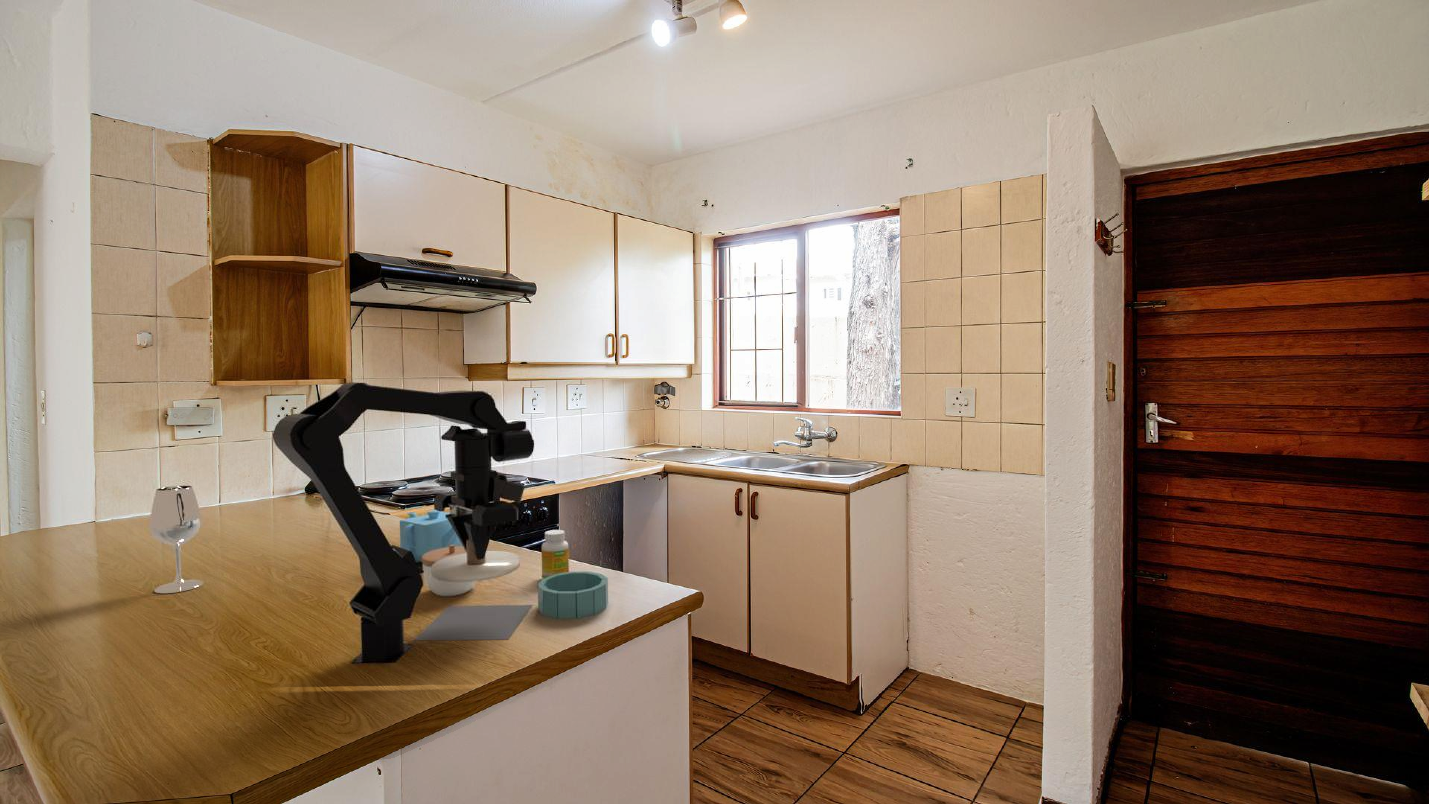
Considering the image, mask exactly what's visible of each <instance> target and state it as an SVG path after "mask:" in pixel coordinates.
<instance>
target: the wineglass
mask: <svg viewBox="0 0 1429 804" xmlns="http://www.w3.org/2000/svg"><path fill="white" fill-rule="evenodd" d="M201 525H202V518H201V510H200V507H199V503H198V500H197V497H196V494H195V490H194V488H193V486H192V485H173V486H172V485H171V486H165V487H160V488H156V490H155V493H154V497H153V501H152V507H151V513H150V522H149V527H150V532H151V534H152V536H153V538H155V539H156V540H157V541H158V542H160V543H162V544H165V545H167V546H172V547H173V551H174V555H175V573H176V574H175V579H174V580H173V581H172V582H169V583H165V584H161V585H160V586H157V587H156V588H154V591H153V592H155V593H157V594H167V595H168V594H176V593H177V594H178V593H183V592H186V591H190V590H194V589H196V588H198V587H201V586H203V584H204V581H203V580H200V579H186V580H185V579H184V578H183V577H182V570H181V548H182V546H183V544H186V543H187V542H189V541H190V540H192V539H193V538H194V537H195V536H196V535H197V533H198V532H199V531H200V529H201Z"/></svg>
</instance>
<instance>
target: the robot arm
mask: <svg viewBox="0 0 1429 804" xmlns="http://www.w3.org/2000/svg"><path fill="white" fill-rule="evenodd" d="M367 410H370V411H383V412H393V413H406V414H418V415H427V416H428V415H429V416H431V417H435V418H438V419H440V420H444V421H447V422H451V423H454V424H458V425H453V424H452V425H450V427H449V428H448V430H447V431H445V432H444V433H443V434H442V435H441V436H440V439H441V440H443V441H449V442H454V470H455V471H450V479H454V480H455V490H451V491H446V492H445V491H444V492H439V493H438V494H437V495H436V496H435V497H434V499H433V510H437V511H440V512H445V510H446V509H447V508H449V513H450V514H447V515H445V517H446V518H447V519H448V521H449V522H450V524H451V526H452V527H453V529H454V531H455V532H456V534H457V536H458V538H459V540H460V542H461V543H462V545H463V547H464V549H465V551H466V540H467V539H470V542H471V545H472V547H473V550H474V553H475V555H476V558H477V559H478V560H481V559H484V557H485V554H486V551H488V547H489V543H490V540H491V538H492V537H491V536H492V534H493V532H494V529H495V528H496V527H497V526H498V525H501V524H506V523H511V522H515V521H518V520H519V507H517V506H516V505H515V504H514V503H517V504H521V502H522V498H523V494H524V491H525V489H526V485H524V484H519V483H515V482H511V481H508V479H507V475H503V474H500V473H498V472H497V470H495V469H492V460H493V461H494V462H498V463H501V462H509V461H515V460H516V461H517V460H523V459H528V458H530V457H531V456H532V455H533V452H534V450H535V440H534V439H533V436H532V432H531V431H530V429H528V428H527V421H525V420H513V421H510V422H508V421H506V419H505V418H504V416H503V415H502V413H501V412H500V411H499V409H498V408H497V406H496V401H495V399H494V398H493V395H492V394H491V393H489V392H488V391H484V390H483V391H482V390H462V389H461V390H451V391H449V390H448V391H439V392H438V391H437V392H433V391H423V390H415V389H414V390H413V389H406V388H399V387H398V388H397V387H391V386H389V387H388V386H379V385H378V386H377V385H371V384H368V383H366V382H356V381H354V382H352V381H351V382H345V383H343V384H341V385H340V386H339V387H338V388H336V389H334V391H332V392H331V393H330V394H328V395H326V396H325V397H323V398H321V399H319V400H318V401H317V400H316V402H314V403H312V404H311V405H309V406H307V407H306V408H304V409H303V410H302V411H300V412H299V413H292V414H288V415H286V416H284V417H282V418H281V419H280V420H279V421H277V424H275V426H274V430H273V432H272V440H273V442H274V445H275V446H276V447H277V449H279V451H280V452H281V453H282V454H283V455H284V456H285V457H286V458H287V459H288V460H289V461H290V462H291V463H292V464H293V465H294V466H295V467H296V468H298V469H299V470H300V472H302V473H303V474H304V475H306V477H308V478H309V479H310V481H312V483H313V485H314V486H315V488H316V490H317V491H318V493H319V495H320V496H321V497H322V499H323V501H324V503H325V505H326V506H327V507H328V509H329V511H330V512H331V514H332V516H333V517H334V520H336V522H337V524H338V526H339V527H340V529H341V531H342V532H343V533H344V535H345V537H346V538H347V540H348V541H349V543H350V545H351V546H352V548H353V550H354V551H355V553H356V555H357V557H358V558H359V570H360V575H361V578H362V581H363V585H362V586H361V587H360V589H359V590H358V591H357V593H355V595H354V596H353V597H352V598H351V600H350V601H349V606H350V608H351V610H352V612H353V614H354V615H358V616H360V617H361V618H360V638H361V641H360V642H361V644H360V645H361V652H360V653H359V654H358V655H357V656H356V657H355V658H353V660H351V662H350V663H351V664H394V663H396V662H398V660H400V659H401V658H402V657H403V656H404V655H406V653H407V652H408V651H409V650H410V649H411V648H412V647H413V646H414V642H409V643H408V642H406V643H405V638H404V635H405V634H404V631H405V630H404V620H408V619H410V618H411V617H412V614H413V611H414V607H415V604H416V601H417V599H418V597H419V596H420V594H421V592H422V589H423V587H424V578H423V576H422V575H421V574H423V573H424V571H423V568H421V567H420V566H419V564H417V563H416V561H415V557H414V555H413V553H412V552H411V551H409V550H406V549H404V548H401V547H400V546H397V545H395V544H390V541H388V538H387V537H386V535H385V534H384V532H383V530H382V528H381V527H380V525H379V524H378V521H377V520H376V518H375V516H374V515H373V513H372V512H371V510H370V508H369V505H367V502H366V501H365V500H364V497H363V495H362V494H361V493H360V491H359V489H358V487H357V486H356V484H355V482H354V481H353V479H352V477H351V475H350V474H349V472H348V471H347V469H346V466H345V456H344V448H343V445H342V442H341V438H340V436H341V435H343V434H344V433H346V432H347V431H348V430H349V429H350V428H352V426H353V424H354V423H356V421H357V420H358V419H359V417H361V415H362V414H364V413H365V412H366V411H367ZM459 425H466V426H467V425H468V426H470V427H471V428H464V429H462V427H461V426H459ZM481 430H486V432H482V431H481ZM501 499H502V500H501ZM508 501H510V502H508ZM512 502H514V503H512ZM466 553H467V551H466Z"/></svg>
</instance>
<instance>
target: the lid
mask: <svg viewBox="0 0 1429 804" xmlns="http://www.w3.org/2000/svg"><path fill="white" fill-rule="evenodd" d="M466 551H467V553H463V554H458V555H454V556H450V557H447V558H444V559H441V560H439V561H437V562H436V563H434V564H433V565H432V567H431V574H432V576H433V577H434V578H435V579H438V580H441V581H448V582H473V581H477V582H480V581H486V580H492V579H496V578H501V577H504V576H507V575H509V574H511V573H513V572H515V571H517V570H518V568H519V567H520V563H521V562H520V557H519V556H518V554H515V553H513V552H510V551H509V552H508V551H502V550H501V551H500V550H487V551H486V554H485V557H484V559H481V560H478V559H477V558H476V555H475V553H474V550H473V547H472V545H471V542H470V539H467V540H466Z"/></svg>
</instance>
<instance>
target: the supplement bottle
mask: <svg viewBox="0 0 1429 804" xmlns="http://www.w3.org/2000/svg"><path fill="white" fill-rule="evenodd" d="M565 536H566V532H565V530H563V529H551V530H547V531H545V532H544V540H545V542H543V543H542V544H541V578H542V579H541V580H543V579H544V578H547V577H549V576H552V575H555V574H560V573H566V572H570V571H569V570H570V568H569V567H570V561H569V559H570V558H569V556H570V555H569V553H570V552H569V543H568V542H567V541H566V540H565V539H566V538H565Z"/></svg>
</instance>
